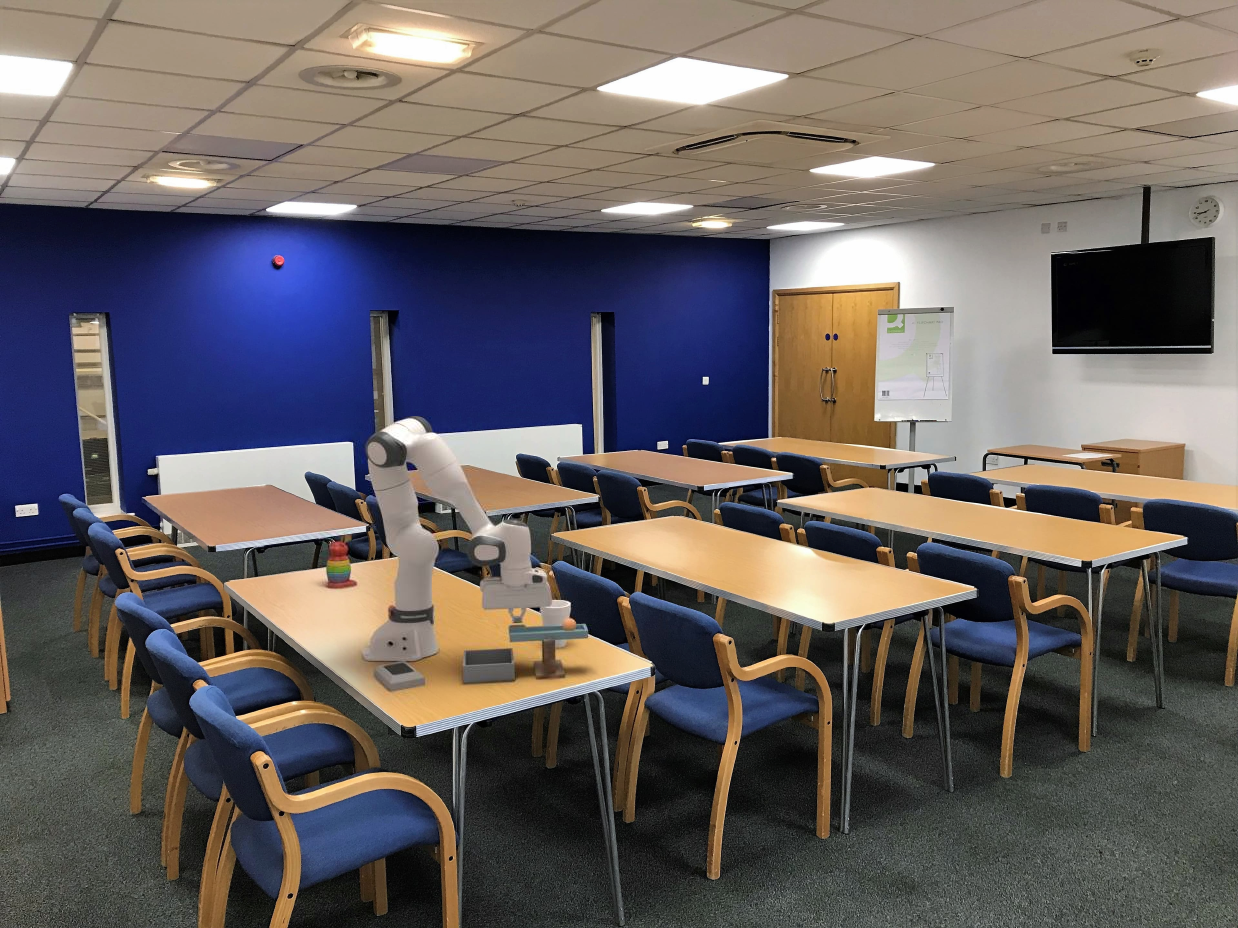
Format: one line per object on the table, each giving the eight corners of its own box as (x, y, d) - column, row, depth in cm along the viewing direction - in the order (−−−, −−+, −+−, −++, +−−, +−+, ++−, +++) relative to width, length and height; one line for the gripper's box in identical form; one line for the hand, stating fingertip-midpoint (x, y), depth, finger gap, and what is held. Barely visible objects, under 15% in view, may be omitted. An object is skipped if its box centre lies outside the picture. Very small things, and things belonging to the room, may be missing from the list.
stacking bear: (359, 584, 368) (357, 540, 366) (339, 590, 360) (337, 545, 358) (340, 581, 374) (338, 538, 372) (320, 586, 365) (318, 542, 363)
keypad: (390, 679, 249) (373, 664, 262) (391, 692, 250) (374, 676, 262) (424, 673, 254) (406, 658, 267) (425, 686, 255) (407, 670, 267)
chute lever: (509, 642, 259) (509, 634, 259) (508, 628, 272) (508, 621, 272) (588, 638, 263) (588, 630, 262) (583, 625, 275) (583, 618, 275)
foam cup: (542, 650, 284) (541, 608, 283) (539, 641, 293) (538, 600, 292) (573, 648, 286) (572, 606, 285) (569, 639, 295) (568, 599, 294)
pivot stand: (536, 679, 258) (535, 639, 257) (533, 663, 271) (532, 626, 270) (564, 677, 260) (564, 638, 258) (560, 662, 272) (560, 625, 271)
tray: (463, 683, 255) (462, 666, 255) (464, 667, 269) (463, 650, 268) (514, 680, 257) (514, 663, 257) (512, 664, 271) (512, 647, 270)
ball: (563, 634, 263) (562, 620, 262) (561, 630, 267) (561, 616, 266) (577, 633, 263) (576, 620, 263) (575, 629, 267) (575, 616, 267)
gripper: (479, 580, 263) (481, 627, 265) (552, 576, 266) (553, 623, 267) (479, 574, 269) (481, 621, 271) (550, 571, 272) (551, 617, 274)
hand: (517, 622), depth 269 cm, fingers closed
